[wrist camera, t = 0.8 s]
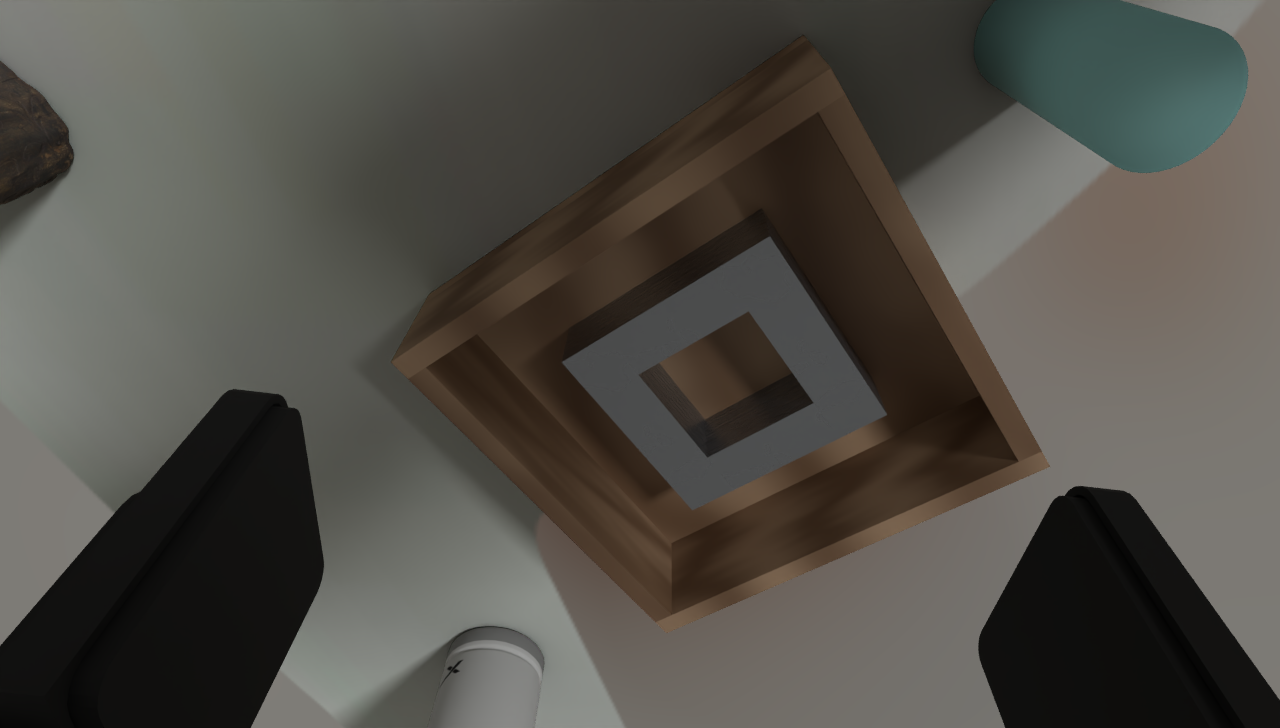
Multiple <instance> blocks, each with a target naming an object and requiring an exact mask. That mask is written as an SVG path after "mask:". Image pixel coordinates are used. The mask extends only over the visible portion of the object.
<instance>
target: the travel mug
mask: <svg viewBox="0 0 1280 728" xmlns="http://www.w3.org/2000/svg"><path fill="white" fill-rule="evenodd" d="M543 670H544V657H543V654H542V652H541V650H540V649H539V647H538V646H537V645H536V644H535V643H534V642H533V641H532V640H531V639H529V638H528V637H526V636H525V635H523V634H521V633H518V632H516V631H513V630H510V629H506V628H500V627H482V628H476V629H472V630H469V631H467V632H465V633H463V634H462V635H460V636H459V637H457V638H456V639H455V640H454V642H453V643H452V644H451V647H450V649H449V652H448V656H447V660H446V663H445V668H444V671H443V674H442V677H441V681H440V684H439V688H438V691H437V695H436V699H435V702H434V706H433V709H432V713H431V716H430V720H429V723H428V727H427V728H534V727H535V721H536V714H537V708H538V702H539V695H540V689H541V682H542V676H543Z"/></svg>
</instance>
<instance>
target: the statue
mask: <svg viewBox="0 0 1280 728" xmlns="http://www.w3.org/2000/svg"><path fill="white" fill-rule="evenodd" d="M72 160H73V149H72V147H71V145H70V144H69V139H68V128H67V126H66V125H65V123H64V122H63V121H62V119H61V118H60V117H59V116H58V115H57V114H56V113H55V112H54V110H53V109H52V108H51V106H50V105H49V103H48V102H47V100H46V99H45V98H44V97H43V96H42V95H41V94H40V92H38V91H37V90H36V89H34V88H33V87H31V86H30V85H28V84H26V83H25V82H24V81H22V80H21V79H20V78H18V77H17V76H16V74H15V73H14V72H13V71H12V70H11V69H9V68H8V67H7V66H6V65H5V64H3V63H2V62H1V61H0V204H6V203H8V202H11V201H13V200H15V199H17V198H19V197H21V196H23V195H25V194H28V193H30V192H32V191H33V190H34V189H35V188H39V187H42V186H44V185H45V184H47V183H50V182H51V181H53V179H54V178H56V176H57V174H59V173H62V172H65V171H66V170H67V169H68V168H69V166H70V164H71V162H72Z"/></svg>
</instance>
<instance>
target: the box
mask: <svg viewBox="0 0 1280 728" xmlns="http://www.w3.org/2000/svg"><path fill="white" fill-rule="evenodd" d="M761 208H762V209H763V210H764V212H765V214H766V215H767V217H768V218H769V220H770V221H771V223H772V224H773V226H774V227H775V229H776V230H777V232H778V234H779V235H780V237H781V238H782V240H783V241H784V243H785V244H786V246H787V247H788V249H789V250H790V252H791V253H792V255H793V257H794V258H795V260H796V261H797V263H798V264H799V266H800V267H801V269H802V270H803V272H804V273H805V275H806V277H807V278H808V280H809V281H810V283H811V284H812V286H813V287H814V289H815V290H816V292H817V293H818V295H819V296H820V298H821V300H822V301H823V303H824V304H825V306H826V307H827V309H828V310H829V312H830V313H831V315H832V316H833V318H834V320H835V321H836V323H837V324H838V326H839V327H840V329H841V330H842V332H843V333H844V335H845V336H846V338H847V339H848V341H849V343H850V344H851V346H852V347H853V349H854V350H855V352H856V353H857V355H858V356H859V358H860V359H861V361H862V363H863V364H864V366H865V367H866V369H867V370H868V372H869V373H870V375H871V376H872V378H873V380H874V383H875V385H876V388H877V390H878V393H879V395H880V398H881V400H882V403H883V405H884V408H885V410H886V413H887V415H886V416H884V417H882V418H880V419H878V420H876V421H874V422H872V423H870V424H868V425H866V426H864V427H862V428H860V429H858V430H855V431H853V432H851V433H849V434H847V435H845V436H843V437H841V438H839V439H837V440H835V441H833V442H831V443H829V444H827V445H825V446H823V447H821V448H819V449H817V450H815V451H813V452H811V453H809V454H807V455H805V456H802V457H800V458H798V459H796V460H794V461H792V462H790V463H788V464H786V465H784V466H782V467H780V468H778V469H776V470H774V471H772V472H770V473H768V474H766V475H764V476H762V477H760V478H758V479H756V480H754V481H752V482H749V483H747V484H745V485H743V486H741V487H739V488H737V489H735V490H733V491H731V492H729V493H727V494H725V495H723V496H721V497H719V498H717V499H715V500H713V501H711V502H709V503H707V504H705V505H703V506H701V507H698V508H696V509H694V510H692V509H691V508H690V507H689V506H688V505H687V504H686V502H685V501H684V500H683V499H682V498H681V497H680V496H679V495H678V493H677V492H676V491H675V490H674V489H673V488H672V487H671V486H670V484H669V483H668V482H667V481H666V480H665V479H664V478H663V477H662V475H661V474H660V473H659V472H658V471H657V470H656V469H655V467H654V466H653V465H652V464H651V463H650V462H649V461H648V460H647V458H646V457H645V456H644V455H643V454H642V453H641V452H640V451H639V449H638V448H637V447H636V446H635V445H634V444H633V443H632V441H631V440H630V439H629V438H628V437H627V436H626V435H625V434H624V432H623V431H622V430H621V429H620V428H619V427H618V426H617V425H616V423H615V422H614V421H613V420H612V419H611V418H610V417H609V415H608V414H607V413H606V412H605V411H604V410H603V409H602V408H601V406H600V405H599V404H598V403H597V402H596V401H595V400H594V399H593V397H592V396H591V395H590V394H589V393H588V392H587V391H586V390H585V388H584V387H583V386H582V385H581V384H580V383H579V382H578V380H577V379H576V378H575V377H574V376H573V375H572V374H571V373H570V371H569V370H568V369H567V368H566V367H565V366H564V365H563V364H562V358H563V353H564V349H565V344H566V340H567V335H568V330H569V328H570V327H572V326H573V325H575V324H576V323H578V322H580V321H581V320H583V319H585V318H586V317H588V316H589V315H591V314H593V313H594V312H596V311H597V310H599V309H601V308H602V307H604V306H605V305H607V304H609V303H610V302H612V301H613V300H615V299H617V298H618V297H620V296H622V295H623V294H625V293H626V292H628V291H630V290H631V289H633V288H634V287H636V286H638V285H639V284H641V283H642V282H644V281H646V280H647V279H649V278H650V277H652V276H654V275H655V274H657V273H658V272H660V271H662V270H663V269H665V268H667V267H668V266H670V265H671V264H673V263H675V262H676V261H678V260H679V259H681V258H683V257H684V256H686V255H687V254H689V253H691V252H692V251H694V250H695V249H697V248H699V247H700V246H702V245H703V244H705V243H707V242H708V241H710V240H712V239H713V238H715V237H716V236H718V235H720V234H721V233H723V232H724V231H726V230H728V229H729V228H731V227H732V226H734V225H736V224H737V223H739V222H740V221H742V220H744V219H745V218H747V217H748V216H750V215H752V214H753V213H755V212H757V211H758V210H760V209H761ZM391 363H392V364H393V365H394V366H395V367H396V368H397V369H398V370H399V371H400V372H401V373H402V374H403V375H404V376H405V377H406V378H408V379H409V380H410V381H411V382H412V383H413V384H414V385H415V386H416V387H417V388H418V389H419V390H420V391H421V392H422V393H423V394H424V395H425V396H426V397H427V398H428V399H429V400H430V401H431V402H432V403H433V404H434V405H435V406H436V407H437V408H438V409H439V410H440V411H441V412H442V413H443V414H444V415H445V416H446V417H447V418H448V419H449V420H450V421H451V422H452V423H453V424H454V425H455V426H456V427H457V428H458V429H459V430H460V431H461V432H462V433H463V434H464V435H466V436H467V437H468V438H469V439H470V440H471V441H472V442H473V443H474V444H475V445H476V446H477V447H478V448H479V449H480V450H481V451H482V452H483V453H484V454H485V455H486V456H487V457H488V458H489V459H490V460H491V461H492V462H493V463H494V464H495V465H496V466H497V467H498V468H499V469H500V470H501V471H502V472H503V473H504V474H505V475H506V476H507V477H508V478H509V479H510V480H511V481H512V482H513V483H514V484H515V485H516V486H517V487H518V488H519V489H520V490H521V491H522V492H523V493H525V494H526V495H527V496H528V497H529V498H530V499H531V500H532V501H533V502H534V503H535V504H536V505H537V506H538V507H539V508H540V509H541V510H542V511H543V512H544V513H545V514H546V515H547V516H548V517H549V518H550V519H551V520H552V521H553V522H554V523H555V524H556V525H557V526H558V527H559V528H560V529H561V530H562V531H563V532H564V533H565V534H566V535H567V536H568V537H569V538H570V539H571V540H572V541H573V542H574V543H576V545H577V546H579V548H580V549H581V550H583V551H584V552H585V553H586V554H587V555H588V556H589V557H590V558H591V559H592V560H593V561H594V562H595V563H596V564H597V565H598V566H599V567H600V568H601V569H602V570H603V571H604V572H605V573H606V574H607V575H608V576H609V577H610V578H611V579H612V580H613V581H614V582H615V583H616V584H617V585H618V586H619V587H620V588H621V589H622V590H623V591H624V592H625V593H626V594H627V595H628V596H629V597H630V598H631V599H632V600H633V601H634V602H635V603H637V605H639V606H640V607H641V608H642V609H643V610H644V611H645V612H646V613H647V614H648V615H649V616H650V617H651V618H652V619H653V620H654V621H655V622H656V623H657V624H658V625H659V626H660V627H661V628H662V629H663V630H664V631H665V632H666V633H668V632H670V631H673V630H675V629H677V628H679V627H681V626H684V625H686V624H689V623H691V622H693V621H696V620H698V619H700V618H703V617H705V616H707V615H709V614H712V613H714V612H716V611H719V610H721V609H723V608H726V607H728V606H730V605H732V604H735V603H737V602H739V601H742V600H744V599H746V598H748V597H751V596H753V595H756V594H758V593H760V592H762V591H765V590H767V589H769V588H772V587H774V586H776V585H779V584H781V583H783V582H785V581H788V580H790V579H792V578H794V577H797V576H799V575H802V574H804V573H806V572H808V571H811V570H813V569H815V568H818V567H820V566H822V565H825V564H827V563H829V562H831V561H833V560H836V559H838V558H841V557H843V556H845V555H847V554H850V553H852V552H855V551H857V550H859V549H861V548H864V547H866V546H868V545H871V544H873V543H875V542H877V541H880V540H882V539H885V538H887V537H889V536H891V535H894V534H896V533H898V532H900V531H903V530H905V529H907V528H910V527H912V526H914V525H917V524H919V523H921V522H924V521H926V520H928V519H931V518H933V517H935V516H937V515H940V514H942V513H944V512H947V511H949V510H951V509H953V508H956V507H958V506H961V505H963V504H965V503H967V502H970V501H972V500H974V499H977V498H979V497H981V496H983V495H986V494H988V493H991V492H993V491H995V490H997V489H1000V488H1002V487H1004V486H1007V485H1009V484H1011V483H1014V482H1016V481H1018V480H1020V479H1023V478H1025V477H1027V476H1029V475H1032V474H1034V473H1036V472H1039V471H1041V470H1044V469H1046V468H1048V467H1050V465H1049V464H1048V462H1047V460H1046V458H1045V456H1044V455H1043V453H1042V451H1041V449H1040V447H1039V445H1038V444H1037V442H1036V440H1035V438H1034V436H1033V435H1032V433H1031V431H1030V429H1029V427H1028V425H1027V424H1026V422H1025V420H1024V418H1023V416H1022V415H1021V413H1020V411H1019V409H1018V407H1017V405H1016V404H1015V402H1014V400H1013V399H1012V396H1011V395H1010V393H1009V391H1008V389H1007V387H1006V385H1005V384H1004V382H1003V380H1002V378H1001V376H1000V375H999V373H998V371H997V369H996V367H995V366H994V364H993V362H992V360H991V358H990V356H989V355H988V353H987V351H986V349H985V347H984V345H983V344H982V342H981V340H980V338H979V336H978V335H977V333H976V331H975V329H974V327H973V325H972V324H971V322H970V320H969V318H968V316H967V314H966V313H965V311H964V309H963V307H962V306H961V304H960V302H959V300H958V298H957V296H956V294H955V293H954V291H953V289H952V287H951V285H950V284H949V282H948V280H947V278H946V276H945V274H944V273H943V271H942V269H941V267H940V265H939V264H938V262H937V260H936V258H935V256H934V254H933V253H932V251H931V249H930V247H929V245H928V244H927V242H926V240H925V238H924V236H923V234H922V233H921V231H920V229H919V227H918V225H917V224H916V222H915V220H914V218H913V216H912V214H911V213H910V211H909V209H908V207H907V205H906V204H905V202H904V200H903V198H902V196H901V194H900V193H899V191H898V189H897V187H896V185H895V184H894V182H893V180H892V178H891V176H890V174H889V173H888V171H887V169H886V167H885V165H884V164H883V162H882V160H881V158H880V156H879V154H878V153H877V151H876V149H875V147H874V145H873V144H872V142H871V140H870V138H869V136H868V134H867V133H866V131H865V129H864V127H863V125H862V124H861V122H860V120H859V118H858V116H857V114H856V113H855V111H854V109H853V107H852V105H851V104H850V102H849V100H848V98H847V96H846V94H845V93H844V91H843V89H842V87H841V85H840V84H839V82H838V80H837V78H836V76H835V74H834V73H833V71H832V69H831V67H830V66H829V65H828V64H827V63H826V61H825V60H824V59H823V58H822V56H821V55H820V54H819V53H818V52H817V50H816V49H815V48H814V47H813V46H812V44H811V43H810V42H809V41H808V40H807V38H806V37H805V36H804V35H803V36H801V37H800V38H798V39H797V40H795V41H794V42H793V43H791V44H790V45H788V46H787V47H785V48H784V49H782V50H781V51H780V52H778V53H777V54H775V55H774V56H772V57H771V58H769V59H768V60H767V61H765V62H764V63H762V64H761V65H759V66H758V67H756V68H755V69H754V70H752V71H751V72H749V73H748V74H746V75H745V76H743V77H742V78H741V79H739V80H738V81H736V82H735V83H733V84H732V85H730V86H729V87H728V88H726V89H725V90H723V91H722V92H720V93H719V94H718V95H716V96H715V97H713V98H712V99H710V100H709V101H707V102H706V103H705V104H703V105H702V106H700V107H699V108H697V109H696V110H694V111H693V112H692V113H690V114H689V115H687V116H686V117H684V118H683V119H681V120H680V121H679V122H677V123H676V124H674V125H673V126H671V127H670V128H668V129H667V130H666V131H664V132H663V133H661V134H660V135H658V136H657V137H655V138H654V139H653V140H651V141H650V142H648V143H647V144H645V145H644V146H642V147H641V148H640V149H638V150H637V151H635V152H634V153H632V154H631V155H629V156H628V157H627V158H625V159H624V160H622V161H621V162H619V163H618V164H616V165H615V166H614V167H612V168H611V169H609V170H608V171H606V172H605V173H603V174H602V175H601V176H599V177H598V178H596V179H595V180H593V181H592V182H591V183H589V184H588V185H586V186H585V187H583V188H582V189H580V190H579V191H578V192H576V193H575V194H573V195H572V196H570V197H569V198H567V199H566V200H565V201H563V202H562V203H560V204H559V205H557V206H556V207H554V208H553V209H552V210H550V211H549V212H547V213H546V214H544V215H543V216H541V217H540V218H539V219H537V220H536V221H534V222H533V223H531V224H530V225H528V226H527V227H526V228H524V229H523V230H521V231H520V232H518V233H517V234H515V235H514V236H513V237H511V238H510V239H508V240H507V241H505V242H504V243H502V244H501V245H500V246H498V247H497V248H495V249H494V250H492V251H491V252H489V253H488V254H487V255H485V256H484V257H482V258H481V259H479V260H478V261H476V262H475V263H474V264H472V265H471V266H469V267H468V268H466V269H465V270H464V271H462V272H461V273H459V274H458V275H456V276H455V277H453V278H452V279H451V280H449V281H448V282H446V283H445V284H443V285H442V286H440V287H439V288H438V289H436V290H435V291H433V292H432V293H430V294H429V295H428V297H427V299H426V301H425V302H424V304H423V306H422V308H421V309H420V311H419V313H418V315H417V317H416V318H415V320H414V322H413V324H412V325H411V327H410V329H409V331H408V332H407V334H406V336H405V338H404V340H403V341H402V343H401V345H400V347H399V348H398V350H397V352H396V354H395V355H394V357H393V359H392V361H391ZM660 365H661V366H662V367H663V368H664V370H665V371H666V372H667V373H668V375H669V376H670V377H671V378H672V379H673V381H674V382H675V383H676V384H677V386H678V387H679V388H680V389H681V391H682V392H683V393H684V394H685V396H686V397H687V398H688V399H689V400H690V402H691V403H692V404H693V405H694V407H695V408H696V409H697V410H698V412H699V413H700V414H701V415H702V417H703V418H704V419H707V418H709V417H710V416H712V415H714V414H716V413H718V412H720V411H722V410H724V409H725V408H727V407H729V406H731V405H733V404H735V403H737V402H739V401H740V400H742V399H744V398H746V397H748V396H750V395H752V394H754V393H755V392H757V391H759V390H761V389H763V388H765V387H767V386H769V385H770V384H772V383H774V382H776V381H778V380H780V379H782V378H784V377H785V376H787V375H789V374H791V373H792V372H791V370H790V369H789V367H788V366H787V365H786V363H785V362H784V360H783V359H782V358H781V356H780V355H779V353H778V352H777V351H776V349H775V348H774V346H773V345H772V344H771V342H770V341H769V339H768V338H767V337H766V335H765V334H764V332H763V331H762V329H761V328H760V327H759V325H758V324H757V322H756V321H755V320H754V318H753V317H752V315H751V314H750V313H749V311H748V312H747V313H745V314H743V315H741V316H740V317H738V318H736V319H734V320H733V321H731V322H729V323H727V324H726V325H724V326H722V327H721V328H719V329H717V330H715V331H714V332H712V333H710V334H708V335H707V336H705V337H703V338H701V339H700V340H698V341H696V342H694V343H693V344H691V345H689V346H687V347H686V348H684V349H682V350H681V351H679V352H677V353H675V354H674V355H672V356H670V357H668V358H667V359H665V360H663V361H661V362H660Z"/></svg>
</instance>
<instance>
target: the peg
mask: <svg viewBox="0 0 1280 728" xmlns="http://www.w3.org/2000/svg"><path fill="white" fill-rule="evenodd" d="M974 57H975V62H976V65H977V67H978V69H979V71H980V73H981V75H982V76H983V77H984V78H985V79H986V80H987V81H988V82H989V83H991V84H992V85H994V86H995V87H997V88H998V89H1000V90H1001V91H1003V92H1004V93H1006V94H1007V95H1009V96H1010V97H1012V98H1013V99H1015V100H1016V101H1018V102H1019V103H1021V104H1022V105H1024V106H1025V107H1027V108H1028V109H1030V110H1031V111H1033V112H1034V113H1036V114H1037V115H1039V116H1040V117H1042V118H1044V119H1045V120H1047V121H1048V122H1050V123H1051V124H1053V125H1054V126H1056V127H1057V128H1059V129H1060V130H1062V131H1063V132H1065V133H1066V134H1068V135H1069V136H1071V137H1072V138H1074V139H1075V140H1077V141H1078V142H1080V143H1081V144H1083V145H1084V146H1086V147H1087V148H1089V149H1090V150H1092V151H1093V152H1095V153H1096V154H1098V155H1099V156H1101V157H1103V158H1104V159H1106V160H1107V161H1109V162H1110V163H1112V164H1113V165H1115V166H1116V167H1119V168H1121V169H1123V170H1127V171H1131V172H1138V173H1151V172H1159V171H1163V170H1167V169H1171V168H1173V167H1176V166H1179V165H1181V164H1183V163H1185V162H1187V161H1189V160H1191V159H1193V158H1194V157H1196V156H1198V155H1199V154H1200V153H1202V152H1203V151H1205V150H1206V149H1207V148H1208V147H1210V146H1211V145H1212V144H1213V143H1214V142H1215V141H1216V140H1217V139H1218V138H1219V137H1220V136H1221V135H1222V134H1223V133H1224V132H1225V130H1226V129H1227V128H1228V127H1229V125H1230V124H1231V122H1232V121H1233V119H1234V118H1235V116H1236V115H1237V112H1238V110H1239V109H1240V107H1241V104H1242V102H1243V99H1244V96H1245V93H1246V88H1247V81H1248V66H1247V61H1246V57H1245V55H1244V52H1243V50H1242V48H1241V47H1240V45H1239V44H1238V42H1237V41H1236V40H1235V39H1234V38H1233V37H1232V36H1230V35H1229V34H1228V33H1226V32H1224V31H1222V30H1220V29H1218V28H1215V27H1212V26H1208V25H1205V24H1201V23H1198V22H1194V21H1191V20H1187V19H1184V18H1180V17H1177V16H1173V15H1170V14H1166V13H1163V12H1159V11H1156V10H1152V9H1149V8H1145V7H1142V6H1138V5H1135V4H1131V3H1128V2H1124V1H1121V0H996V1H995V2H994V3H993V4H992V5H991V6H990V7H989V9H988V10H987V12H986V13H985V15H984V16H983V18H982V20H981V22H980V24H979V26H978V29H977V32H976V36H975V41H974Z"/></svg>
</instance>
